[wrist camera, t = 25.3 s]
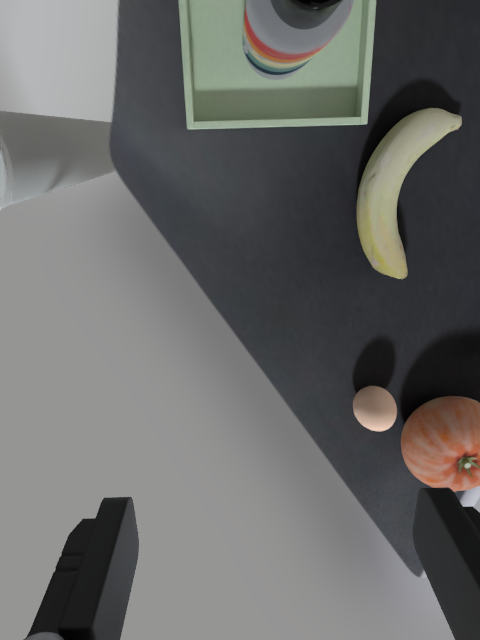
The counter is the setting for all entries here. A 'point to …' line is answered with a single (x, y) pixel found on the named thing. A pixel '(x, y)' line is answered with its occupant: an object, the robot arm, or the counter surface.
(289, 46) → the lotion bottle
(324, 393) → the counter surface
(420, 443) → the tomato
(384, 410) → the egg
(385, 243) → the fruit
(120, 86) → the counter surface
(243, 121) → the green tray
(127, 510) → the robot arm
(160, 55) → the counter surface
